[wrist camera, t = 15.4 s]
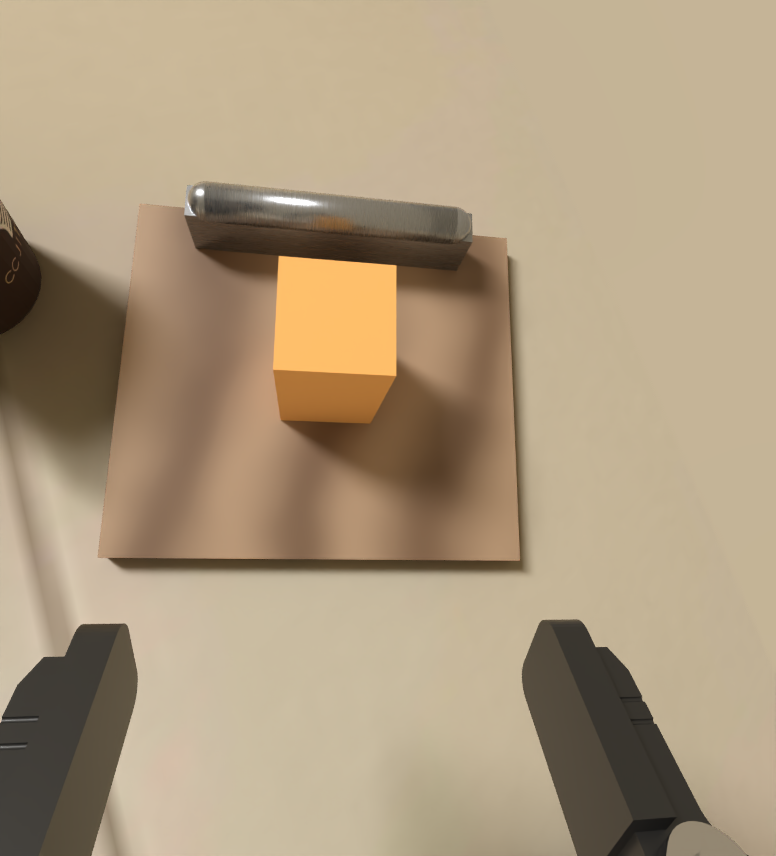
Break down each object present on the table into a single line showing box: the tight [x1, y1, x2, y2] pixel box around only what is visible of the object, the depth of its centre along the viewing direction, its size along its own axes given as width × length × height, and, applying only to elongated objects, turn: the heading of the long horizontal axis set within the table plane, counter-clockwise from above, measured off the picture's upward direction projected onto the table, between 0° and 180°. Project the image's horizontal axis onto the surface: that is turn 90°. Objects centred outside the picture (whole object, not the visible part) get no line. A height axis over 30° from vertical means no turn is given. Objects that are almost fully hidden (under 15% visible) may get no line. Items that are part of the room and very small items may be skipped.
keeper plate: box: [98, 181, 520, 561], centre depth 27 cm, size 20×18×5 cm
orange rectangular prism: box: [273, 256, 396, 424], centre depth 25 cm, size 4×4×8 cm
